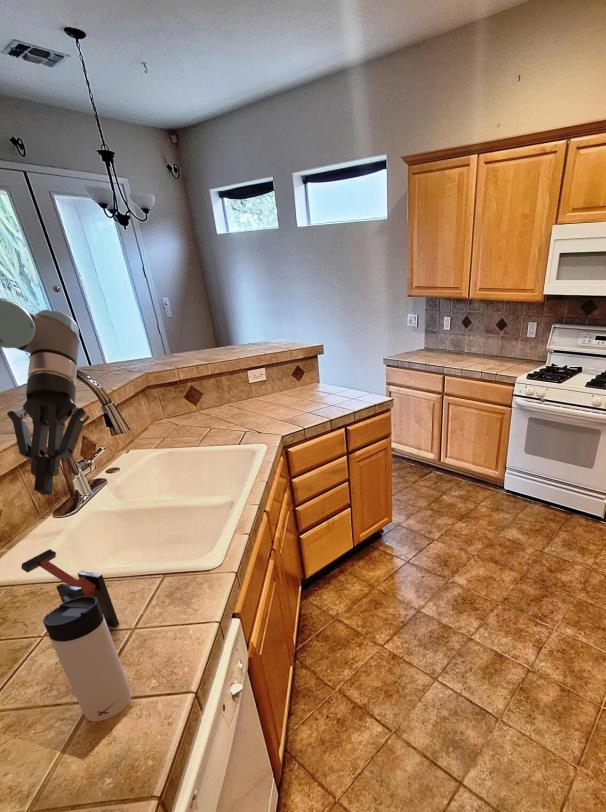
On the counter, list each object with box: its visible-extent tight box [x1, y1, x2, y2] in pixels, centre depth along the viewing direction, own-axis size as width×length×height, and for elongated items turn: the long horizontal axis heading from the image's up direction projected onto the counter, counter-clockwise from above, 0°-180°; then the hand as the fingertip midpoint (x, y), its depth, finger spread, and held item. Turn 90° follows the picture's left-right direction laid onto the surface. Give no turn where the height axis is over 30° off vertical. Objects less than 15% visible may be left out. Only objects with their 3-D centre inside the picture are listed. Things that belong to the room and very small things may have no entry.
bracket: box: [55, 570, 120, 628], centre depth 77 cm, size 12×9×13 cm
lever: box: [20, 548, 96, 596], centre depth 75 cm, size 11×5×2 cm, turn 74°
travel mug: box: [42, 596, 133, 722], centre depth 62 cm, size 6×7×20 cm
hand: (43, 491), depth 78 cm, fingers closed
